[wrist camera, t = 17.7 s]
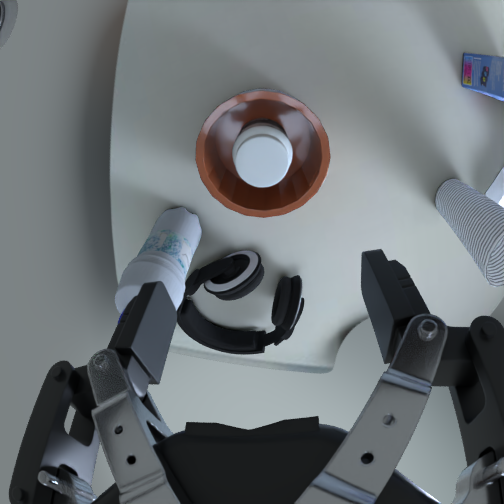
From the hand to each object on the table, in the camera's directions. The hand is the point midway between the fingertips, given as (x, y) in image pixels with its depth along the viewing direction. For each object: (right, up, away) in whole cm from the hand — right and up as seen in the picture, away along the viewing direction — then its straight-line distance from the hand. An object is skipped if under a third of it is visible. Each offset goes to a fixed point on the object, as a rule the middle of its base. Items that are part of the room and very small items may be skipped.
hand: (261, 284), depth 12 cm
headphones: (-2, -5, +35) cm, 36 cm away
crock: (+1, +14, +22) cm, 26 cm away
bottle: (-10, +5, +29) cm, 31 cm away
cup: (+29, +9, +24) cm, 39 cm away
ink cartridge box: (+32, +25, +13) cm, 43 cm away
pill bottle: (+1, +14, +21) cm, 26 cm away
